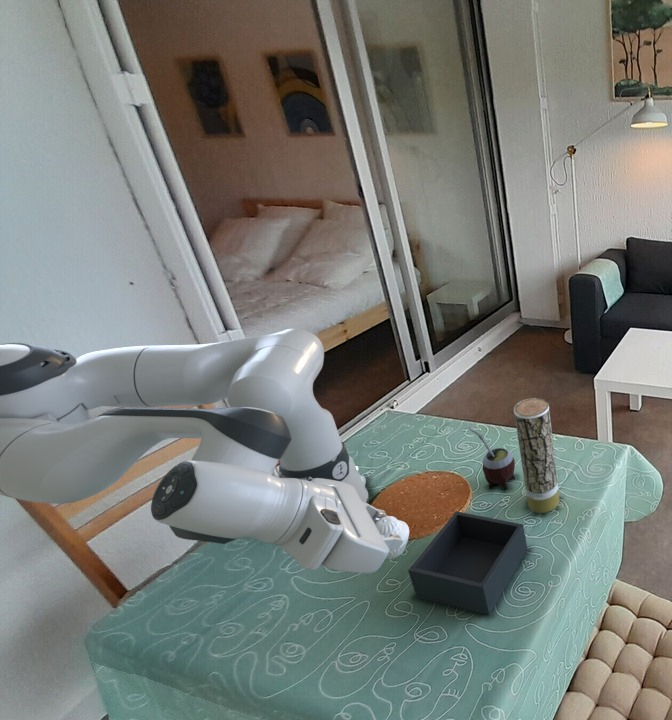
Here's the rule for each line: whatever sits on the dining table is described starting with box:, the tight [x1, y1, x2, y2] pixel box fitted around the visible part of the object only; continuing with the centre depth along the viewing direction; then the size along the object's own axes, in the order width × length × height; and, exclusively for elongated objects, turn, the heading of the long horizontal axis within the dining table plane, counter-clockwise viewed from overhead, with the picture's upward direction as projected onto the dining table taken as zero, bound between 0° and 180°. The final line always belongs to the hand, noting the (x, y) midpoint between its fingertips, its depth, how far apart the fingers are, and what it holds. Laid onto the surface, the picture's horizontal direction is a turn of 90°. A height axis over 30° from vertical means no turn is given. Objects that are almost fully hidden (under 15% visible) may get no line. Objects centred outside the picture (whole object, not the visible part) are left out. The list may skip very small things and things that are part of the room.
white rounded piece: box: [375, 515, 410, 559], centre depth 82 cm, size 6×6×7 cm
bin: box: [407, 510, 528, 616], centre depth 92 cm, size 15×15×7 cm
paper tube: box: [513, 397, 560, 514], centre depth 104 cm, size 7×7×25 cm
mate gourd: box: [467, 426, 516, 491], centre depth 113 cm, size 8×8×15 cm
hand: (391, 530), depth 82 cm, fingers closed on white rounded piece, 6 cm apart
